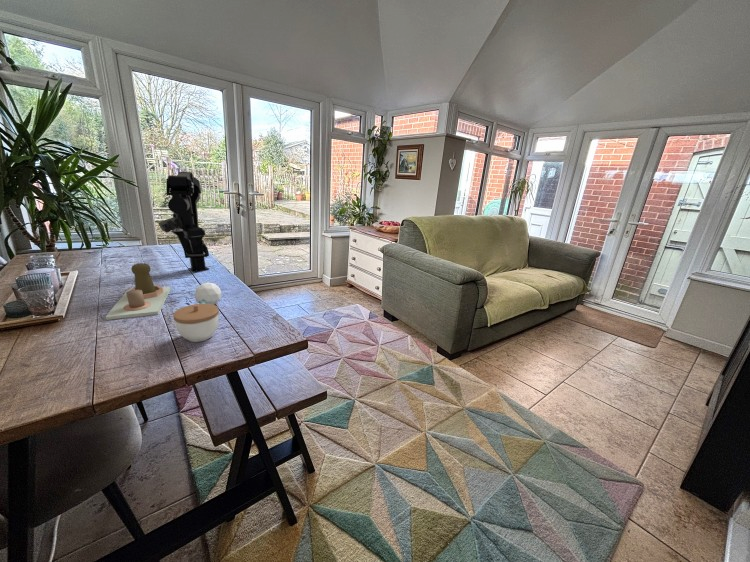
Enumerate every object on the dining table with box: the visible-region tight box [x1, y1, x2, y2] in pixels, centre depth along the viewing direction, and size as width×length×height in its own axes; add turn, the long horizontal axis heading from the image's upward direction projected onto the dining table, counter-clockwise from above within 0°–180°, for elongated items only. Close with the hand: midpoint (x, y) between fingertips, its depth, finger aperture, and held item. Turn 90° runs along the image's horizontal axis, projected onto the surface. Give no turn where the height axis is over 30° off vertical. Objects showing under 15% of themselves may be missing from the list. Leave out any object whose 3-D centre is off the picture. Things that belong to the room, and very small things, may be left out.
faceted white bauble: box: [194, 281, 222, 305], centre depth 101 cm, size 8×8×12 cm
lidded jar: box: [172, 303, 220, 343], centre depth 82 cm, size 11×11×9 cm
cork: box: [130, 262, 156, 294], centre depth 105 cm, size 6×6×11 cm
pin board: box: [105, 284, 172, 321], centre depth 101 cm, size 23×13×6 cm, turn 24°
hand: (189, 250), depth 119 cm, fingers open, 9 cm apart
